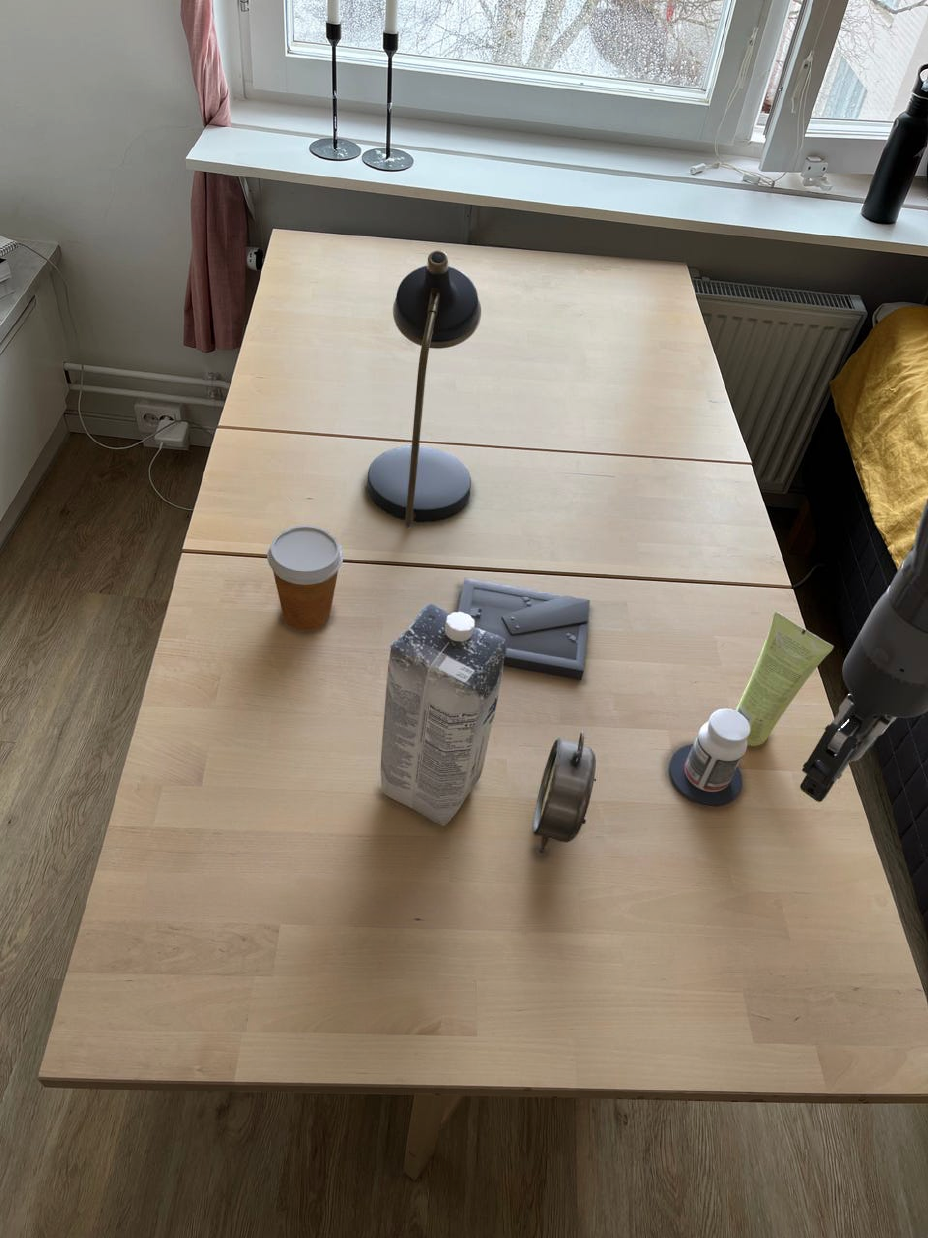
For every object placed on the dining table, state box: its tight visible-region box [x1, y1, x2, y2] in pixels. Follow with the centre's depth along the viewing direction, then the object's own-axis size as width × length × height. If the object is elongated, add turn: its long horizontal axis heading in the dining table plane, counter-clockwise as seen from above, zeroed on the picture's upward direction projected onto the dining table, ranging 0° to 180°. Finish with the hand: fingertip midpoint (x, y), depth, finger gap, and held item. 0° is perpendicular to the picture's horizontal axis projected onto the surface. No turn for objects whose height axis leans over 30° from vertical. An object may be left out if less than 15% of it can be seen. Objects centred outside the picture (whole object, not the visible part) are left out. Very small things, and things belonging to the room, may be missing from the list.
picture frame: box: [456, 577, 591, 681], centre depth 131 cm, size 13×2×18 cm
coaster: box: [668, 743, 743, 808], centre depth 118 cm, size 9×9×1 cm
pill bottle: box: [685, 708, 750, 792], centre depth 115 cm, size 6×6×10 cm
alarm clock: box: [532, 730, 597, 854], centre depth 106 cm, size 11×5×16 cm, turn 168°
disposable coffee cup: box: [266, 524, 344, 631], centre depth 126 cm, size 10×10×12 cm
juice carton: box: [380, 603, 507, 827], centre depth 103 cm, size 9×10×27 cm
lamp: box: [366, 250, 482, 529], centre depth 136 cm, size 16×22×38 cm
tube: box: [735, 611, 835, 747], centre depth 117 cm, size 6×5×20 cm
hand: (835, 768), depth 88 cm, fingers open, 8 cm apart
